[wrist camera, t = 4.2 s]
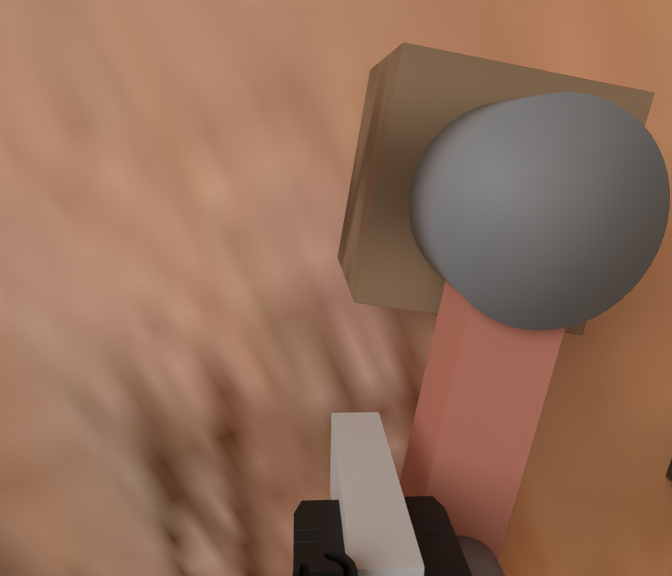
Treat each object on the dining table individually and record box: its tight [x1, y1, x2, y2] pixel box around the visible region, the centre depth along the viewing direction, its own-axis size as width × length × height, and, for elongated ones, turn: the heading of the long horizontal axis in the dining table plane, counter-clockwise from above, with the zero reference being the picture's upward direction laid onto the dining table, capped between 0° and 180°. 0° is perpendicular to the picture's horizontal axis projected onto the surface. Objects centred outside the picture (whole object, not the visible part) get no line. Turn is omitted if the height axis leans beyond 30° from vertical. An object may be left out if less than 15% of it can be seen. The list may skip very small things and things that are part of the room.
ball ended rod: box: [400, 92, 670, 576], centre depth 16 cm, size 16×6×5 cm, turn 170°
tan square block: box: [338, 43, 654, 335], centre depth 21 cm, size 8×8×7 cm
